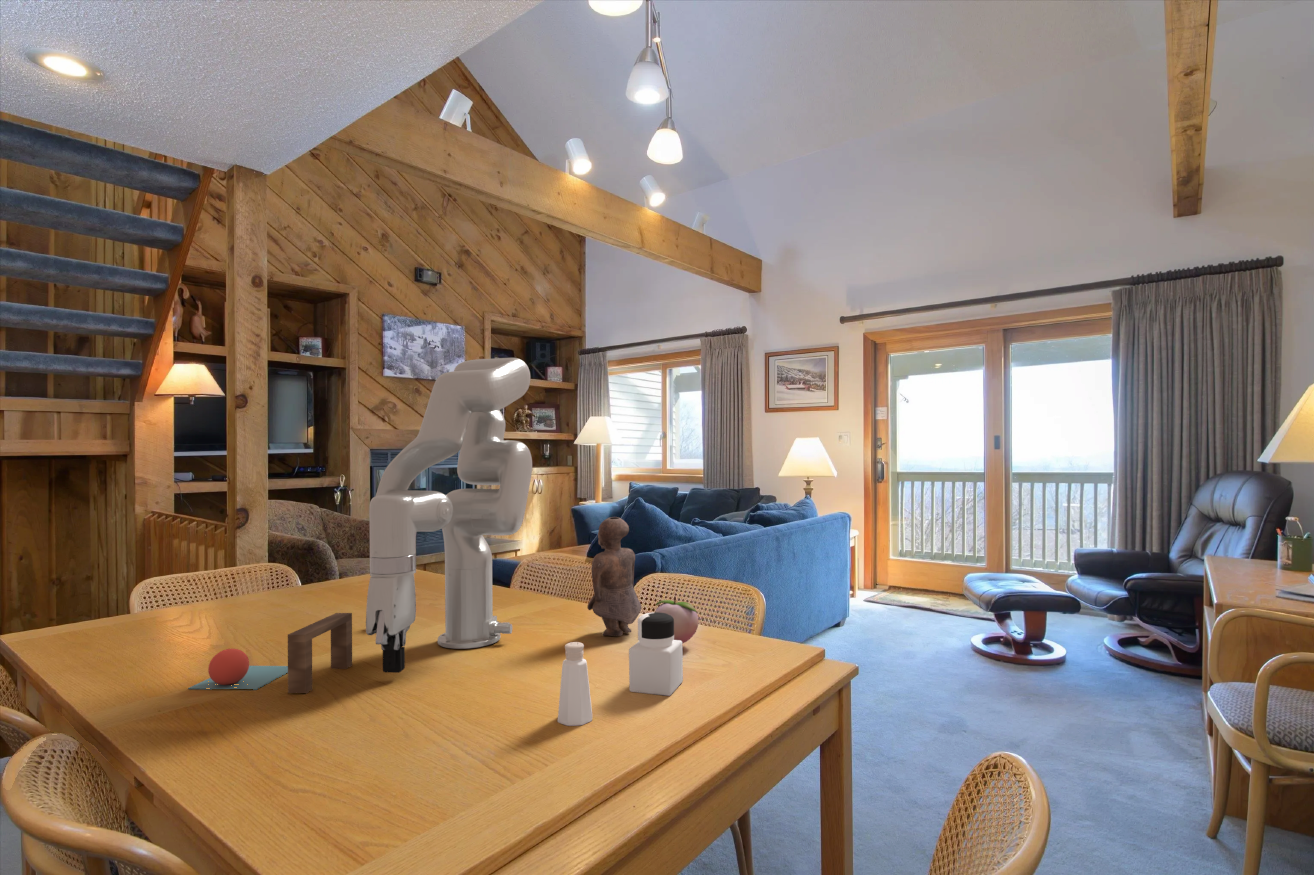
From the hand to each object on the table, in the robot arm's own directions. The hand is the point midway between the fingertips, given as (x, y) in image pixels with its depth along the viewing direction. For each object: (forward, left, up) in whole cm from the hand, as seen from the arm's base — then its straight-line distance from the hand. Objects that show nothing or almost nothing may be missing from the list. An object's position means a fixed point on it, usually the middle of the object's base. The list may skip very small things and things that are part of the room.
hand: (393, 670), depth 120 cm
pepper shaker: (-35, +16, -2) cm, 39 cm away
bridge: (+13, 0, -2) cm, 13 cm away
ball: (+28, +3, +2) cm, 28 cm away
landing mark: (+27, 0, -2) cm, 27 cm away
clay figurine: (-35, -30, -2) cm, 46 cm away
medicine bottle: (-46, +2, -2) cm, 46 cm away
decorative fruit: (-48, -21, -2) cm, 52 cm away
